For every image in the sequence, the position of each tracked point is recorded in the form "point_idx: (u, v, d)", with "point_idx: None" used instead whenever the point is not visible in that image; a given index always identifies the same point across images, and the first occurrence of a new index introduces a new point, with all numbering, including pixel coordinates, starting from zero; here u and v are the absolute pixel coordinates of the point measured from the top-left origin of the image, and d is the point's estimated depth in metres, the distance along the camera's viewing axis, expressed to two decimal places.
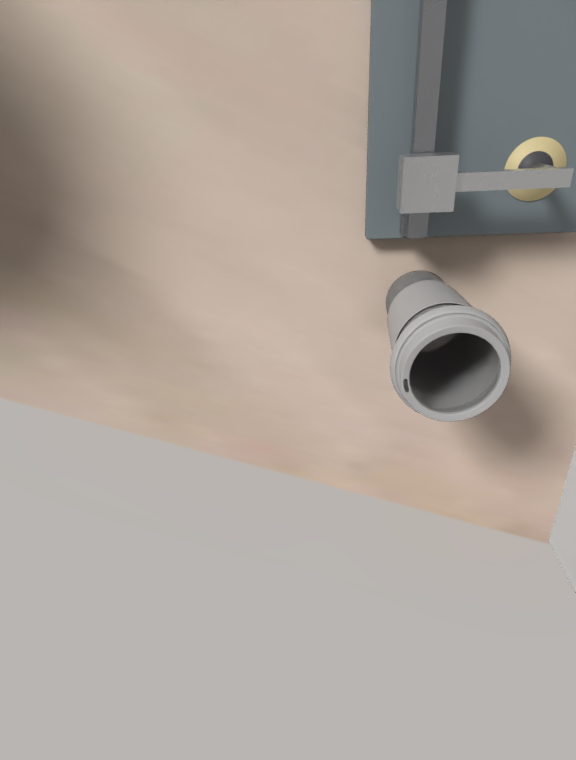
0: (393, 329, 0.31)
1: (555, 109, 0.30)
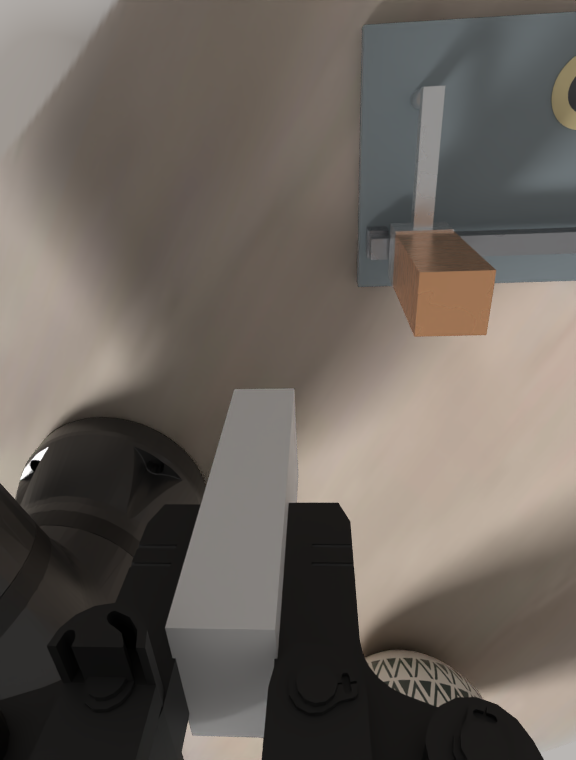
0: None
1: None
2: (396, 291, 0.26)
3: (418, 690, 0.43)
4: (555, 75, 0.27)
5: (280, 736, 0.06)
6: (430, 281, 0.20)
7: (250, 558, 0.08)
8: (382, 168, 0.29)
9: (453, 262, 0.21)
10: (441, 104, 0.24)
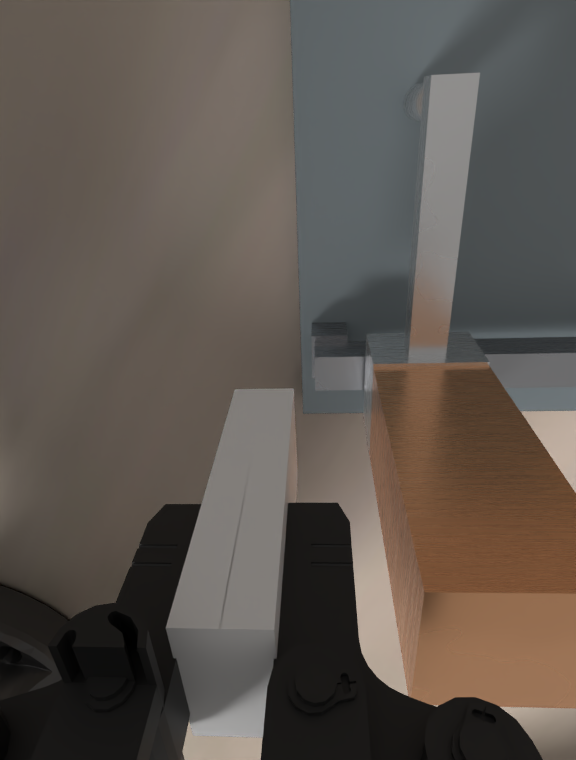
0: None
1: None
2: (374, 481, 0.13)
3: None
4: None
5: (280, 735, 0.06)
6: (455, 610, 0.07)
7: (249, 558, 0.08)
8: (336, 227, 0.16)
9: (512, 528, 0.08)
10: (470, 114, 0.11)
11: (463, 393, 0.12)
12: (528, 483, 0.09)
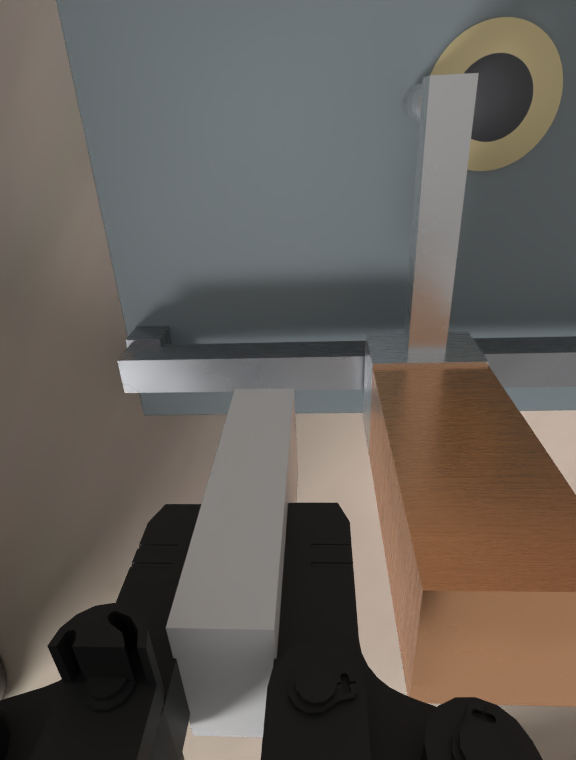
0: None
1: None
2: (374, 481, 0.13)
3: None
4: (427, 70, 0.14)
5: (280, 736, 0.06)
6: (453, 609, 0.07)
7: (249, 558, 0.08)
8: (142, 233, 0.17)
9: (509, 527, 0.08)
10: (468, 114, 0.11)
11: (462, 393, 0.12)
12: (526, 482, 0.09)
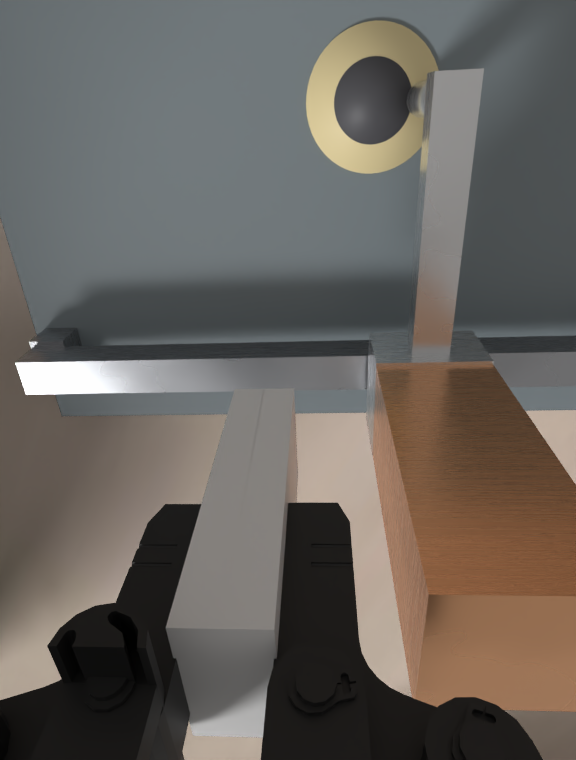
0: None
1: None
2: (378, 482, 0.13)
3: None
4: (306, 73, 0.14)
5: (280, 736, 0.06)
6: (459, 613, 0.07)
7: (250, 558, 0.08)
8: (42, 236, 0.17)
9: (516, 530, 0.08)
10: (474, 110, 0.11)
11: (467, 393, 0.12)
12: (533, 484, 0.09)
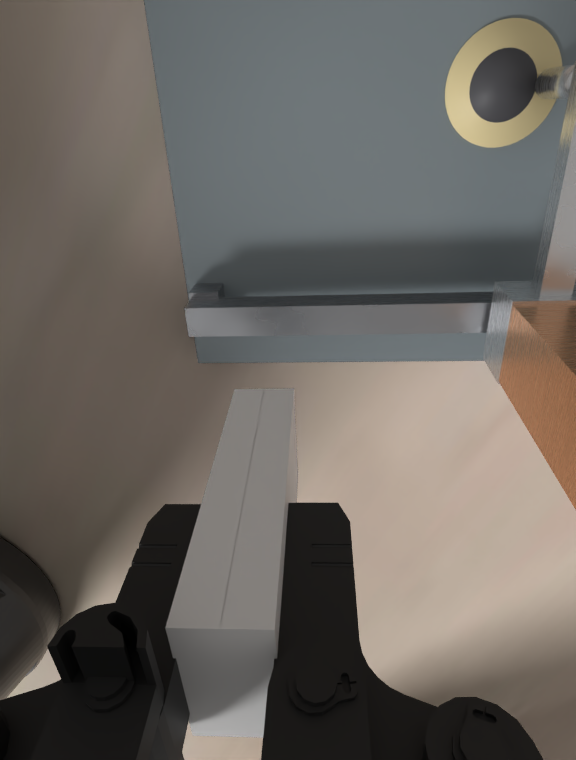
0: None
1: None
2: (512, 399, 0.16)
3: None
4: (448, 62, 0.17)
5: (280, 736, 0.06)
6: None
7: (250, 558, 0.08)
8: (205, 202, 0.20)
9: None
10: None
11: None
12: None
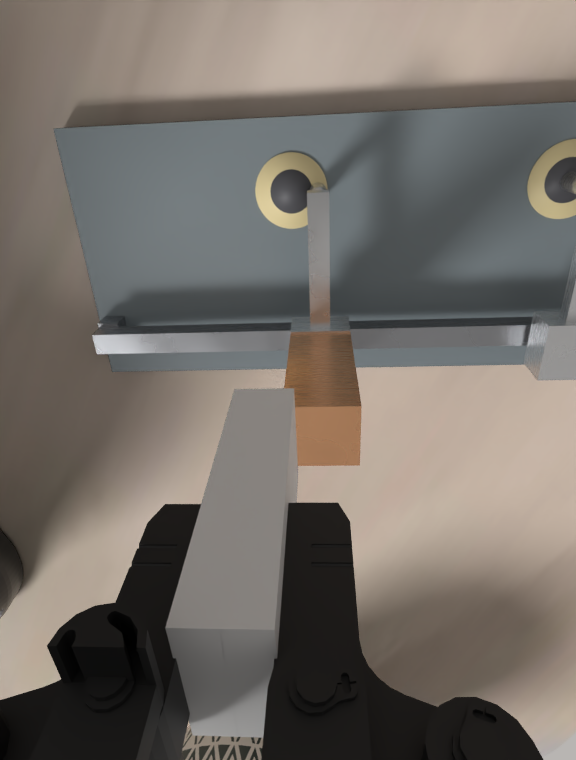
0: None
1: (500, 169, 0.25)
2: None
3: (234, 756, 0.43)
4: (255, 177, 0.26)
5: (280, 736, 0.06)
6: None
7: (250, 558, 0.08)
8: (107, 262, 0.29)
9: (324, 390, 0.20)
10: (327, 210, 0.23)
11: (330, 344, 0.24)
12: (339, 377, 0.21)
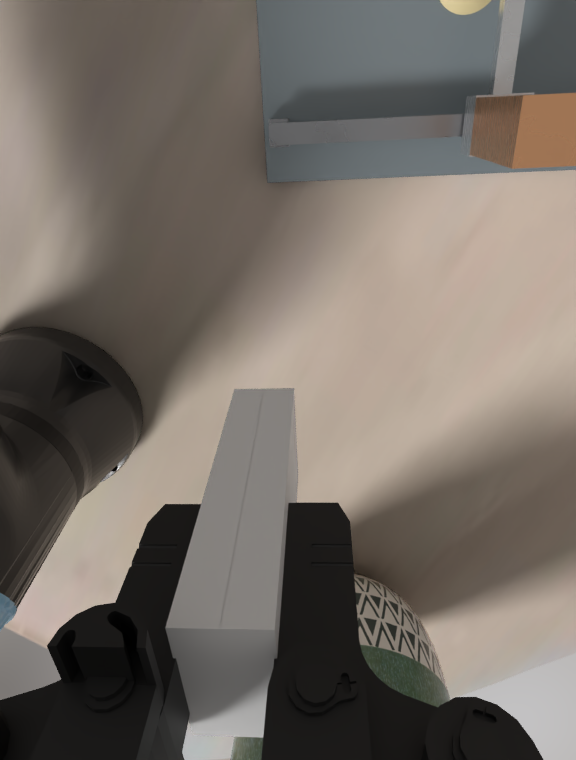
0: None
1: None
2: (476, 154, 0.27)
3: None
4: None
5: (280, 736, 0.06)
6: (533, 105, 0.21)
7: (250, 558, 0.08)
8: (280, 57, 0.30)
9: None
10: None
11: None
12: (557, 93, 0.23)
